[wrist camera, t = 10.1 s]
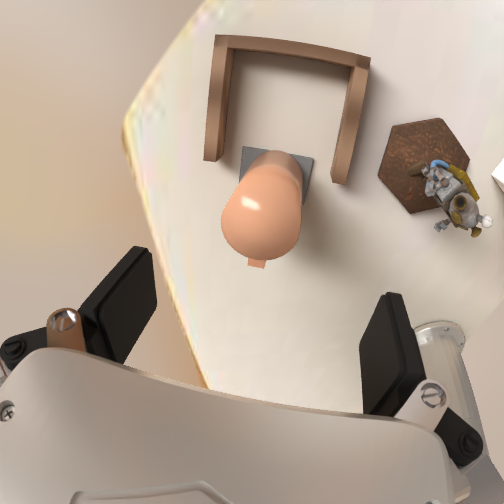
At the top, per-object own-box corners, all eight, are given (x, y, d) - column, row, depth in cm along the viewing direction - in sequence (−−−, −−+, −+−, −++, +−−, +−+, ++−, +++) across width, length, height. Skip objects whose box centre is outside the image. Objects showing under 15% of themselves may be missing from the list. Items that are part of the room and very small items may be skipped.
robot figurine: (357, 154, 28) (386, 199, 18) (420, 94, 23) (482, 109, 13) (420, 226, 30) (459, 293, 20) (477, 175, 26) (537, 225, 16)
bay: (341, 176, 29) (344, 185, 27) (211, 153, 30) (203, 160, 28) (364, 59, 23) (370, 57, 20) (223, 38, 24) (215, 34, 21)
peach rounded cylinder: (307, 155, 29) (307, 197, 19) (293, 223, 33) (286, 288, 24) (251, 146, 29) (224, 183, 20) (243, 214, 33) (217, 274, 24)
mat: (303, 203, 32) (304, 204, 31) (238, 191, 32) (237, 192, 32) (313, 158, 29) (313, 158, 29) (243, 146, 29) (242, 147, 29)
